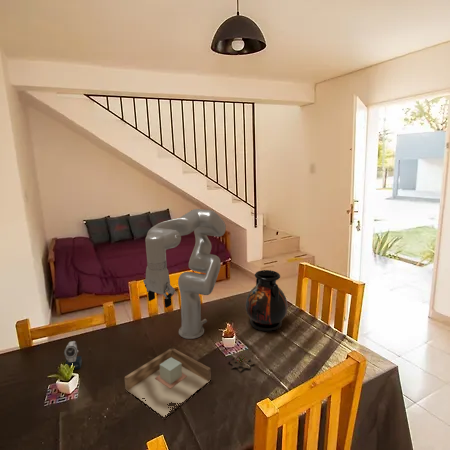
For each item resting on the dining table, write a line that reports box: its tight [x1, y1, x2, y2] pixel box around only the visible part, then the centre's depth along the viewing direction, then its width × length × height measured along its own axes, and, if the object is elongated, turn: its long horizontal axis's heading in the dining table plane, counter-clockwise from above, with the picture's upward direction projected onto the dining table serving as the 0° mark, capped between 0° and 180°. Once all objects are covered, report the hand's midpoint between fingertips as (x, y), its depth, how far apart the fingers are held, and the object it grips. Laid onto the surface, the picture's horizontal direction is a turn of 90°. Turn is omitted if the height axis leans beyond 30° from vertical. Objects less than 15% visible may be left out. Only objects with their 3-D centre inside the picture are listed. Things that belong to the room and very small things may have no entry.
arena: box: [124, 347, 212, 417], centre depth 126 cm, size 24×22×6 cm
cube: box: [160, 357, 182, 384], centre depth 129 cm, size 6×6×6 cm
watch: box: [63, 340, 83, 370], centre depth 137 cm, size 6×8×11 cm
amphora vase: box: [245, 269, 289, 332], centre depth 169 cm, size 22×22×28 cm
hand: (159, 302), depth 135 cm, fingers open, 9 cm apart
